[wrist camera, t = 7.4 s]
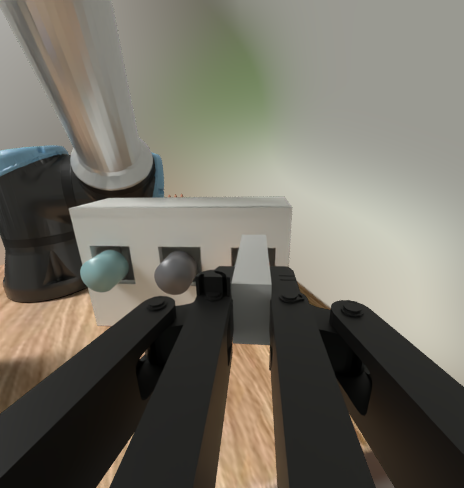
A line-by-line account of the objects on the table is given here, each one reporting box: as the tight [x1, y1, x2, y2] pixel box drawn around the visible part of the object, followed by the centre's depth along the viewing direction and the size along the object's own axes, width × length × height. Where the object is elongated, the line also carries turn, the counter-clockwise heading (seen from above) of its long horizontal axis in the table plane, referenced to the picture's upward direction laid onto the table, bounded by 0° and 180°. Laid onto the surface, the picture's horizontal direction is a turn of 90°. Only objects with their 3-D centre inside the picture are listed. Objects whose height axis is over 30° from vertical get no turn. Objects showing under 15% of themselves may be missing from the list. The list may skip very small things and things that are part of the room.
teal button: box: [80, 250, 129, 292], centre depth 28 cm, size 4×3×4 cm
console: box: [69, 196, 292, 326], centre depth 33 cm, size 25×8×16 cm, turn 84°
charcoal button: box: [154, 251, 197, 295], centre depth 27 cm, size 4×3×4 cm
